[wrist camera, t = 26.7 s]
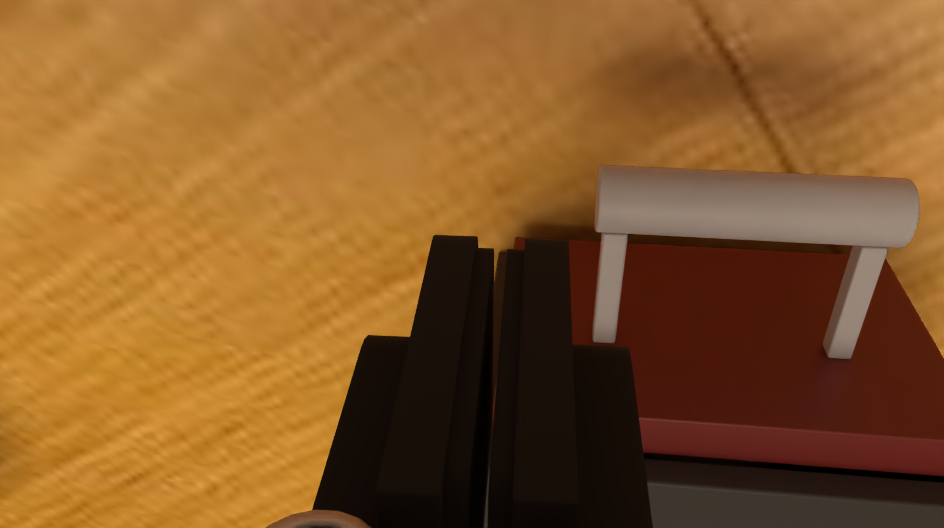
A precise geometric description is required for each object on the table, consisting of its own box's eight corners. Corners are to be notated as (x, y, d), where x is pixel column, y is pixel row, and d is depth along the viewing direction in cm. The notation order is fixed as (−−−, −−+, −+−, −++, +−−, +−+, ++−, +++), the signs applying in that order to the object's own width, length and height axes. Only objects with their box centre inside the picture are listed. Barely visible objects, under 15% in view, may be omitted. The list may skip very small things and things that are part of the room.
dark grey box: (498, 251, 27) (464, 467, 19) (884, 272, 26) (1020, 513, 18) (495, 527, 35) (470, 759, 27) (788, 553, 34) (852, 804, 26)
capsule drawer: (519, 87, 23) (494, 228, 16) (937, 102, 21) (1089, 259, 15) (507, 510, 33) (490, 699, 26) (790, 535, 32) (843, 739, 25)
